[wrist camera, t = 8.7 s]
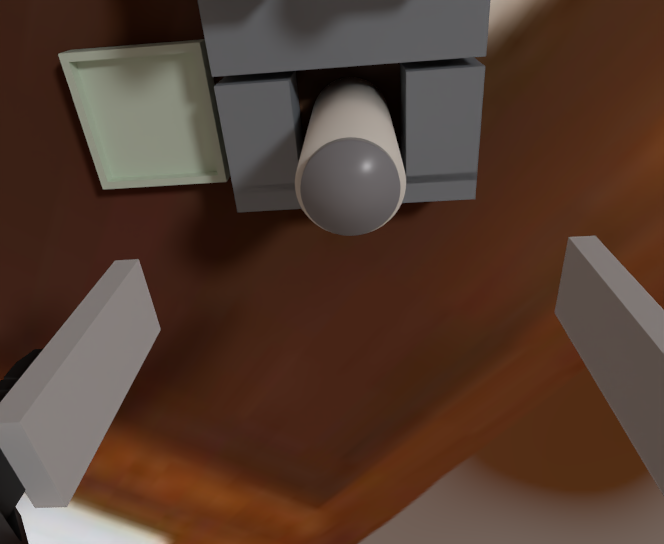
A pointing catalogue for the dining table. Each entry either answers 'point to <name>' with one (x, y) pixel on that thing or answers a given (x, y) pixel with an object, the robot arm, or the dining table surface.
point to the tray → (148, 113)
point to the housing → (344, 51)
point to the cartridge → (350, 160)
